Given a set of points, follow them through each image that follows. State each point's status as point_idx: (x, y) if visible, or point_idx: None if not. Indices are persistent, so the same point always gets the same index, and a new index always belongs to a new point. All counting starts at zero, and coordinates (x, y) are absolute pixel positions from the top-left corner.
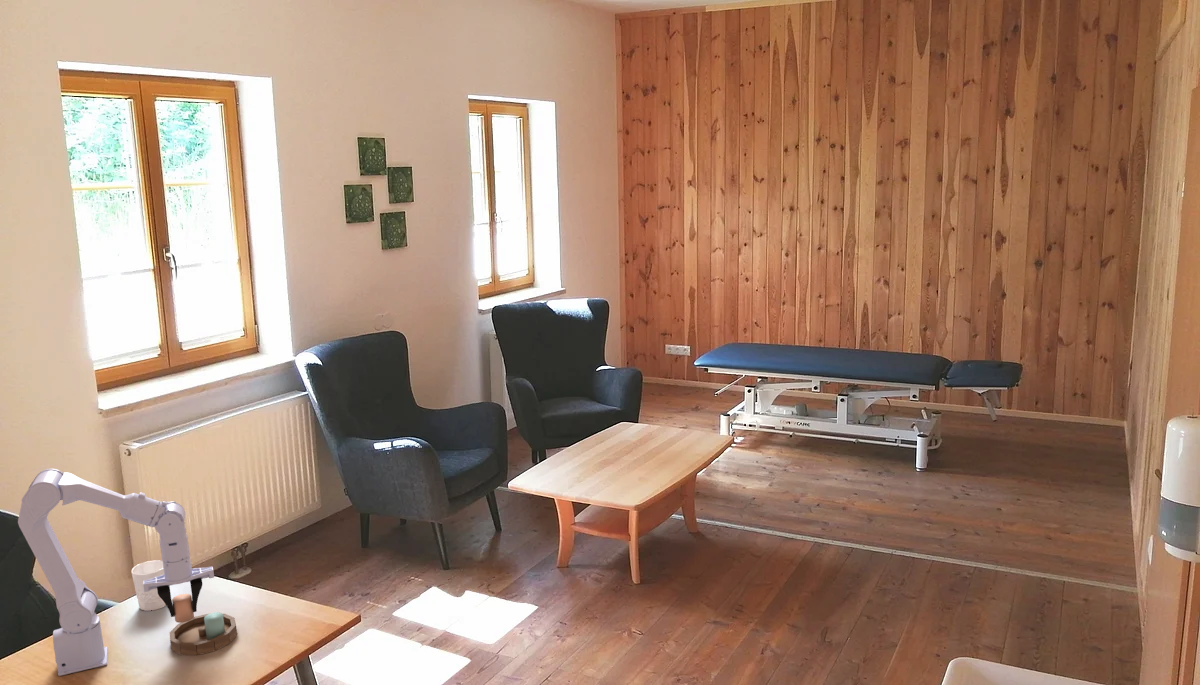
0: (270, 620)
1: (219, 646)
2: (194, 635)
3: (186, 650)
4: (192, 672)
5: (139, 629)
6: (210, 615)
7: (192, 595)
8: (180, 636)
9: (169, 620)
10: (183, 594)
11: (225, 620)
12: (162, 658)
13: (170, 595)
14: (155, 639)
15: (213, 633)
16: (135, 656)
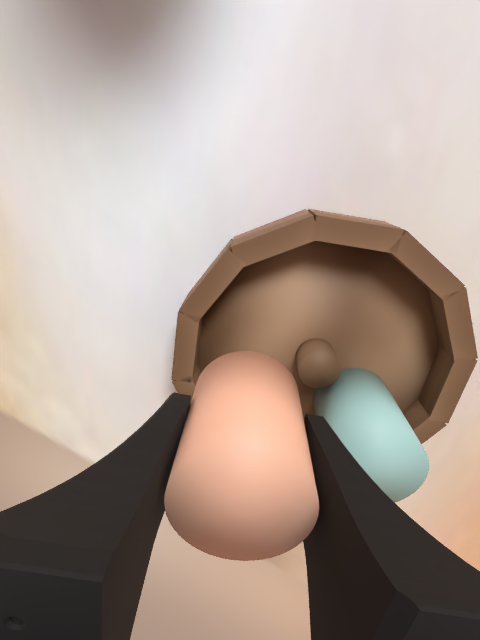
0: None
1: None
2: (280, 338)
3: None
4: None
5: (56, 32)
6: (371, 451)
7: (313, 617)
8: (226, 308)
9: (218, 24)
10: (269, 460)
11: (438, 317)
12: (144, 392)
13: (132, 611)
14: (130, 218)
15: None
16: (49, 317)
